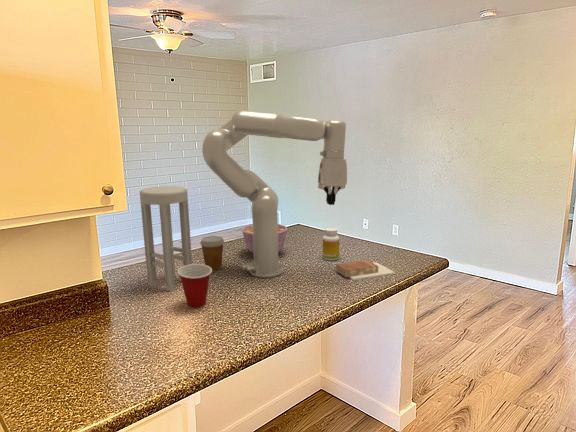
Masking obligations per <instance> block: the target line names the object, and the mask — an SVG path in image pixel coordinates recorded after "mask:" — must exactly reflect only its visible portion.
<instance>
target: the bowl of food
mask: <svg viewBox="0 0 576 432" xmlns="http://www.w3.org/2000/svg"><path fill="white" fill-rule="evenodd" d="M287 230H288V227H287V226H286V225H284V224H279V223H278V253H279V252H280V251H281V250H282V249H283V248H284V243H285V240H286V236H287ZM241 232H242V236H243V239H244V242H245V245H246V248H247V249H248V250H249V252H251V253H253V254H254V246H253V223H252V224H248V225H245V226H244V227H242V228H241Z"/></svg>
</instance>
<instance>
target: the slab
mask: <svg viewBox="0 0 576 432" xmlns="http://www.w3.org/2000/svg"><path fill="white" fill-rule="evenodd" d="M335 271H336V272H337V273H339V274H340V275H342V276H344V277H345V278H349V277H352V276H358V275H364V274H371V273H377V272H378V266H377V265H375V264H374V263H373V262H372V261H370V260H368V259H366V260H365V259H364V260H358V261H353V262H352V261H351V262H345V263H344V262H343V263H338V264H337V263H336V265H335Z"/></svg>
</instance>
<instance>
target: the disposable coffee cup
mask: <svg viewBox="0 0 576 432" xmlns="http://www.w3.org/2000/svg"><path fill="white" fill-rule="evenodd" d="M199 244H200V247H201V249H202V256H203V260H204V265H207V266H209V267H211V268H212V271H215V270H219V269H220V270H221V268H222V265H223V263H222V262H223V252H224V244H225V240H224V237H222V236H219V235H211V236H205V237H202V238H201V240H200V242H199Z"/></svg>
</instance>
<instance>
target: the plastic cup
mask: <svg viewBox="0 0 576 432" xmlns="http://www.w3.org/2000/svg"><path fill="white" fill-rule="evenodd" d="M212 273H213V270H212V268H211V267H209V266H207V265H205V264H201V263H192V264H190V265H185V266H183V265H182V266H181V267H179V268H178V270H177V274H178V276H179V278H180V282H181V284H182V289H183V293H184V297H185V300H186V303H187V307H189V308H201V307H204V306H205V305H206V302H207V296H208V290H209V282H210V277H211V274H212Z"/></svg>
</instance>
